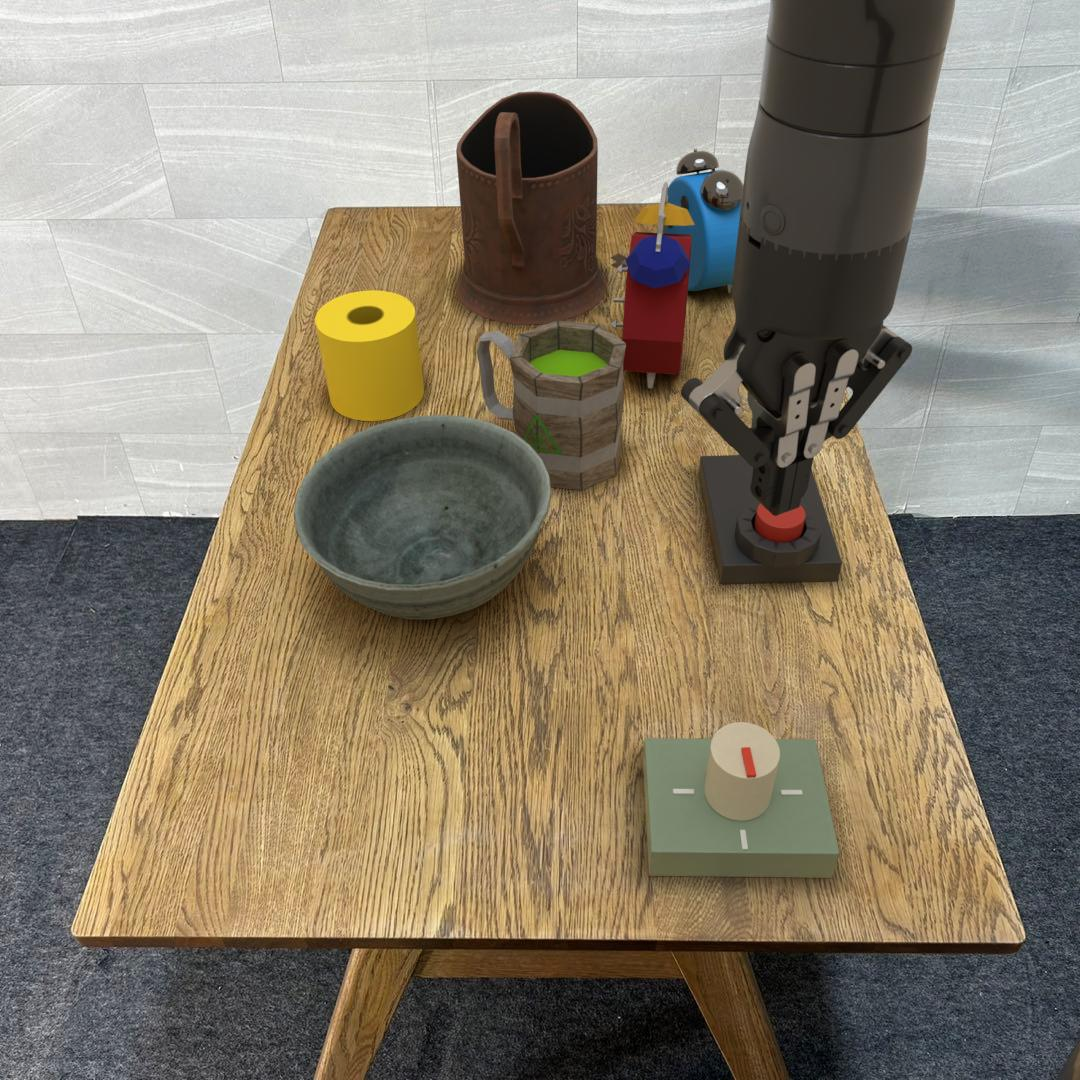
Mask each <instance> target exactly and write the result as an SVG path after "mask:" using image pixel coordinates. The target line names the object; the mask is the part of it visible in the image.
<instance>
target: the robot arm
mask: <svg viewBox="0 0 1080 1080" xmlns="http://www.w3.org/2000/svg"><path fill="white" fill-rule="evenodd" d="M955 7H956V0H769V14H768V22H767V29H766V35H765V36H766V37H765V44H764V52H763V61H762V70H761V78H760V88H759V95H758V98H759V100H758V104H757V110H756V114H755V115H756V117H755V119H754V123H753V127H752V131H751V135H750V139H749V144H748V147H747V153H746V160H745V168H744V177H743V193H742V202H741V210H740V219H739V228H738V237H737V246H736V255H735V264H734V272H733V281H732V284H731V295H732V302H733V307H734V314H735V315H734V316H735V321H734V325H733V328H732V330H731V332H730V333H729V335H728V337H727V339H726V341H725V343H724V345H723V346H724V347H723V350H722V351H723V353H722V354H723V359H724V361H723V362H722V363H721V364H720V365H719V366H718V368H716V369H715V370H714V371H713V372H712V373H711V374H710V375H709V376H708V377H707V378H706V379H705V380H704V381H703V380H701V378H698V377H692V378H689V379H688V380H686V381H684V384H683V385H682V386H681V389H680V395H681V397H682V399H684V401H685V402H686V403H688V404H689V406H690V407H691V408H693V410H694V411H695V412H696V413H697V414H698V415H699V416H700V417H701V418H702V419H703V420H704V421H705V422H706V423H707V424H708V425H709V426H710V428H712V429H713V430H714V431H715V432H716V433H717V434H718V436H720V437H721V438H722V440H723V441H724V442H725V443H726V444H727V445H729V446H730V447H731V448H733V450H734V451H735V452H736V453H737V454H738V455H740V456H741V457H742V458H743V459H744V460H745V461H746V462H747V463H748V464H749V465H750V466H751V467H753V474H752V475H753V476H752V482H751V487H750V490H751V493H752V495H753V496H754V497H755V498H756V499H757V500H758V501H759V502H760V503H761V504H762V505H763V506H764V507H765V508H766V509H767V510H768V511H769V512H770V513H771V514H772V515H774V516H777V515H780V514H783V513H785V512H788V511H791V510H794V509H797V508H799V506H800V502H801V497H803V496H804V494H805V493H806V491H807V489H808V484H809V479H810V474H811V470H812V468H813V462H814V458H815V457H816V456H818V455H819V453H820V452H821V451H822V449H823V447H824V443H825V442H826V441H827V440H829V439H830V438H832V437H834V438H835V439H836V440H841V439H843V438H845V437H847V436H848V435H849V434H850V432H851V431H852V430H853V429H854V428H855V426H856V425H857V424H858V422H859V421H860V420H861V418H862V417H863V416H864V415H865V413H866V412H867V411H868V409H869V408H870V407H871V406H872V405H873V403H874V402H875V401H876V400H877V398H878V397H879V396H880V394H881V393H882V392H883V391H884V389H885V388H886V386H888V384H889V383H890V382H891V380H892V379H893V378H894V377H895V375H896V374H897V373H898V372H899V370H900V369H901V368H902V367H903V365H904V364H905V363H906V362H907V360H908V359H909V357H910V356H911V354H912V351H913V346H912V344H910V342H908V341H906V340H905V339H904V338H902V337H901V336H899V335H898V334H896V333H895V332H894V331H892V330H891V329H889V328H888V327H886V325H884V321H885V320H886V319H887V317H888V316H889V315H890V314H891V312H892V310H893V308H894V304H895V300H896V297H897V292H898V287H899V283H900V278H901V274H902V270H903V265H904V261H905V257H906V252H907V248H908V244H909V240H910V237H911V236H910V235H911V232H912V226H913V222H914V219H915V213H916V209H917V204H918V200H919V197H920V192H921V188H922V183H923V179H924V174H925V170H926V162H927V153H928V138H929V128H930V123H931V116H932V110H933V106H934V103H935V98H936V93H937V89H938V83H939V79H940V75H941V70H942V66H943V61H944V57H945V54H946V48H947V44H948V40H949V36H950V32H951V28H952V25H953V19H954V18H953V17H954V12H955ZM741 385H742V386H743V387H744V389H745V390H746V391H747V405H748V408H749V409H750V411H751V427H749V426H748V425H746V423H745V422H744V421H743V420H742V419H741V417H740V416H739V415H741V414H742V413H743V411H744V408H743V406H742V405H741V402H742V396H741V395H740V390H739V389H740V386H741ZM848 388H849V389H851V391H852V394H851V397H849V399H848V400H847V401H846V403H845V404H844V405H843V406H842V404H843V401H844V397H845V394H846V390H847V389H848ZM1055 1080H1080V1038H1079V1039H1077V1042H1076V1043H1075V1045H1074V1046H1073V1048H1072V1050H1071V1051H1070V1053H1069V1055H1068V1057H1067V1059H1066V1060H1065V1062H1064V1064H1063V1065H1062V1067H1061V1069H1060V1071H1059V1072H1058V1074H1057V1076H1056V1078H1055Z"/></svg>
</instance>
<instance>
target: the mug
mask: <svg viewBox="0 0 1080 1080" xmlns="http://www.w3.org/2000/svg"><path fill="white" fill-rule="evenodd" d="M515 341H516V342H515V343H514V342H513V340H512V339H511V338H510V337H509V336H508V335H506V334H504V333H503V332H502V331H500V330H493V331H487V332H485V333H482V334H481V336H480V337H479V340H478V343H477V348H476V355H477V362H478V366H479V374H480V384H481V385H480V386H481V392H482V398H483V400H484V402H485V404H486V407H487V409H488V411H489V412H490V413H492V414H493V415H494V416H495V417H497V418H498V419H500V420H507V421H513V422H514V429H515V434H516V435H517V436H518V437H520V438H521V439H522V440H524V441H525V442H526V443H527V444H529V445H530V446H531V447H532V449H533V450H534V451H535V452H536V453H537V454H538V456H539V457H540V458H541V459H542V461H543V463H544V465H545V468H546V470H547V472H548V474H549V477H550V485H551V488H555V489H557V488H558V489H565V490H573V491H583V490H585V489H588V488H590V487H592V486H595V485H597V484H599V483H601V482H603V481H606V480H608V479H610V478H613V477H614V476H617V474H618V471H619V467H620V462H621V458H622V454H623V450H624V447H623V437H622V422H623V421H622V418H623V411H624V402H625V392H624V391H625V389H624V379H623V378H624V371H623V361H624V355H625V349H626V343H625V342H623V341H622V338H619V336H617V335H616V334H614V333H613V332H611V331H610V330H609V329H607V328H606V327H604V326H603V325H602V324H600V323H591V322H589V323H588V322H578V321H577V322H576V321H566V320H563V321H554V322H551V323H545V324H542V325H541V326H538V327H535V328H533V329H529V330H527V331H524V332H521V333H519V334H518V336H517V339H516V340H515ZM491 342H492V343H493V344H494V345H495V346H496V347H498V348H499V349H500V350H501V352H502V353H503V355H504V356H505V358H506V359H507V360H508V361H509V363H510V367H511V368H510V369H511V373H512V383H513V384H512V385H513V386H512V387H513V399H512V401H513V402H512V407H506V406H504V404H502V403H501V402H500V400H499V398H498V395H497V393H496V389H495V388H496V387H495V377H494V366H493V360H492V355H491V351H490V347H491V346H490V345H491Z"/></svg>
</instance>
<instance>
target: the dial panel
mask: <svg viewBox="0 0 1080 1080" xmlns="http://www.w3.org/2000/svg"><path fill="white" fill-rule="evenodd" d="M711 740H712V738H686V737H685V738H682V737H681V738H677V737H676V738H674V737H673V738H671V737H667V738H665V737H661V738H660V737H659V738H658V737H645V738H644V740H643V754H642V775H643V792H644V793H643V794H644V795H643V796H644V810H645V811H644V812H645V828H646V845H647V847H646V848H647V863H648V866H647V867H648V875H649V877H713V878H714V877H715V878H716V877H719V878H720V877H721V878H722V877H723V878H727V877H729V878H804V879H805V878H806V879H807V878H809V879H810V878H812V879H815V878H816V879H832V878H833V875H834V872H835V869H836V867H837V862H838V860H839V857H840V849H839V844H838V839H837V834H836V831H835V825H834V821H833V816H832V810H831V806H830V800H829V797H828V792H827V787H826V781H825V776H824V772H823V766H822V762H821V758H820V753H819V752H820V751H819V747H818V743H817V739H813V738H812V739H810V738H809V739H808V738H807V739H806V738H803V739H802V738H801V739H800V738H788V739H787V738H775V740H776V741H777V743H778V746H779V749H780V759H779V764H778V768H777V773H776V777H775V782H774V786H773V791H772V795H771V800H770V803H769V806H768V808H767V809H766V811H765V812H764V813H763V814H761V815H760V816H758V817H756V818H754V819H751V820H746V821H737V820H732V819H728V818H726V817H724V816H722V815H720V814H718V813H717V812H716V811H715V810H714V809H713V808H712V807H711V806H710V805H709V803H708V801H707V799H706V796H705V791H704V787H705V780H706V773H707V766H708V759H709V752H710V745H711Z"/></svg>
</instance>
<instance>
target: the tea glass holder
mask: <svg viewBox="0 0 1080 1080" xmlns="http://www.w3.org/2000/svg"><path fill="white" fill-rule="evenodd" d="M598 146H599V144H598V137H597V135H596V133H595V131H594V128H593V126H592V125H591V123H590V122H589V120H588V118H587V117H586V116H585V114H584V113H583V112H582V111H581V110H580V109H579V108H578V107H577V106H576V105H575V104H574V103H573V102H572V101H571V100H570V99H568V98H565V97H563V96H562V95H559V94H558V93H554V92H546V91H519V92H516V93H512V94H510V95H507V96H505V97H502V98H500V99H499V100H498V101H497V102H495V103H494V104H492V105H491V106H490V107H488V109H486V110H485V111H484V112H483V113H482V114H481V115H480V116H479V117H478V118H477V119H476V120H475V121H474V122H473V123H472V124H471V125H470V126H469V128H468V129H467V130H465V132H464V133H463V134H462V136H461V137H460V139H459V140H458V142H457V145H456V149H455V152H456V153H455V154H456V166H457V177H458V179H457V180H458V191H459V204H460V217H461V218H460V219H461V229H462V242H463V255H464V261H463V266H462V272H461V274H460V276H459V278H458V280H457V282H456V288H455V292H456V295H457V298H458V300H459V302H460V303H461V304H462V305H463V306H465V308H467V310H468V311H470V312H472V313H474V314H476V315H478V316H480V317H482V318H484V319H488V320H491V321H495V322H499V323H504V324H512V325H513V324H514V325H546V324H549V323H551V322H554V321H566V320H569V319H572V318H575V317H578V316H580V315H582V314H585V313H586V312H588V311H589V310H592V309H593V308H595V306H597V305H598V304H599V303H600V302H601V301H602V300H604V297H605V295H606V292H607V290H608V284H607V283H608V282H607V278H606V276H605V274H604V273H603V271H602V270H601V268H600V267H599V266H600V265H599V258H598V256H597V234H598V233H597V232H598V231H597V230H598V229H597V227H598V223H597V222H598V165H599V164H598V163H599V161H598V156H599V155H598V153H599V147H598Z"/></svg>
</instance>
